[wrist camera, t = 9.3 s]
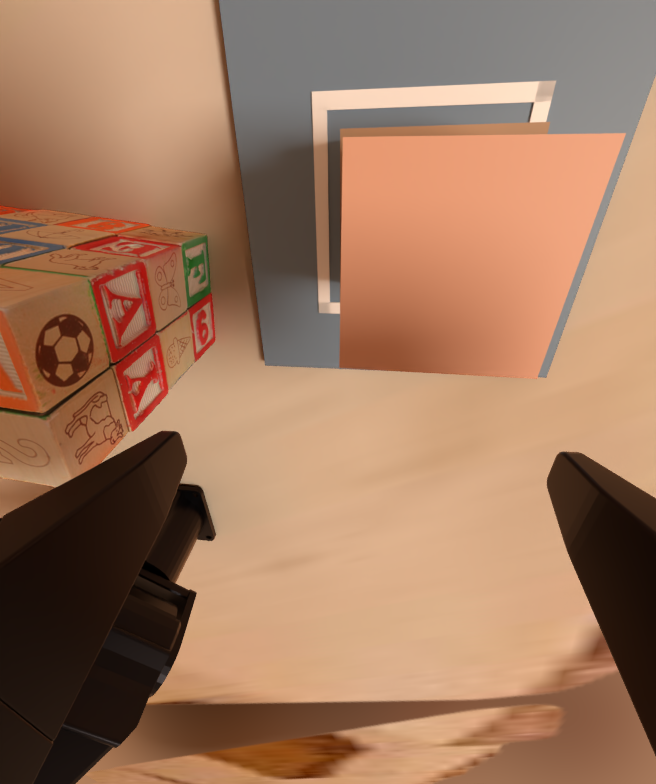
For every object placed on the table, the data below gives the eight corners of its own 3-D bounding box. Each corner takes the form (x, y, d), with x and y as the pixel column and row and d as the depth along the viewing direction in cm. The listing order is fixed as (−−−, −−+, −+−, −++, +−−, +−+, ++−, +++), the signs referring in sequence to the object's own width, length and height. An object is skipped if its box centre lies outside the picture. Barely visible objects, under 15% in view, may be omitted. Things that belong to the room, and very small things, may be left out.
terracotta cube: (486, 311, 13) (537, 378, 9) (351, 306, 14) (339, 367, 9) (526, 147, 10) (626, 133, 6) (356, 148, 11) (342, 136, 7)
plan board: (542, 372, 20) (546, 378, 19) (267, 360, 22) (264, 366, 21) (693, -58, 11) (709, -70, 11) (221, -19, 13) (214, -28, 13)
